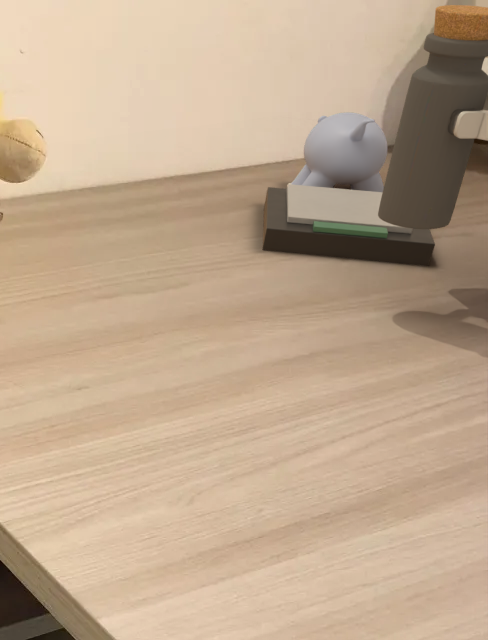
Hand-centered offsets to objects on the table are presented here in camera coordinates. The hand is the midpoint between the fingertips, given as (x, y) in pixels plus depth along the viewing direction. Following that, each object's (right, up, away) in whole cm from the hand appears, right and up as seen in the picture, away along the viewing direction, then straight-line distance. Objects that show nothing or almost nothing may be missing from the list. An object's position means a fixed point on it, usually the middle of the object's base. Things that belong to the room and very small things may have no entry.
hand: (430, 112), depth 81 cm
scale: (+2, +1, +27) cm, 27 cm away
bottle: (+1, -6, +5) cm, 8 cm away
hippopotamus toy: (+5, +11, +39) cm, 41 cm away
